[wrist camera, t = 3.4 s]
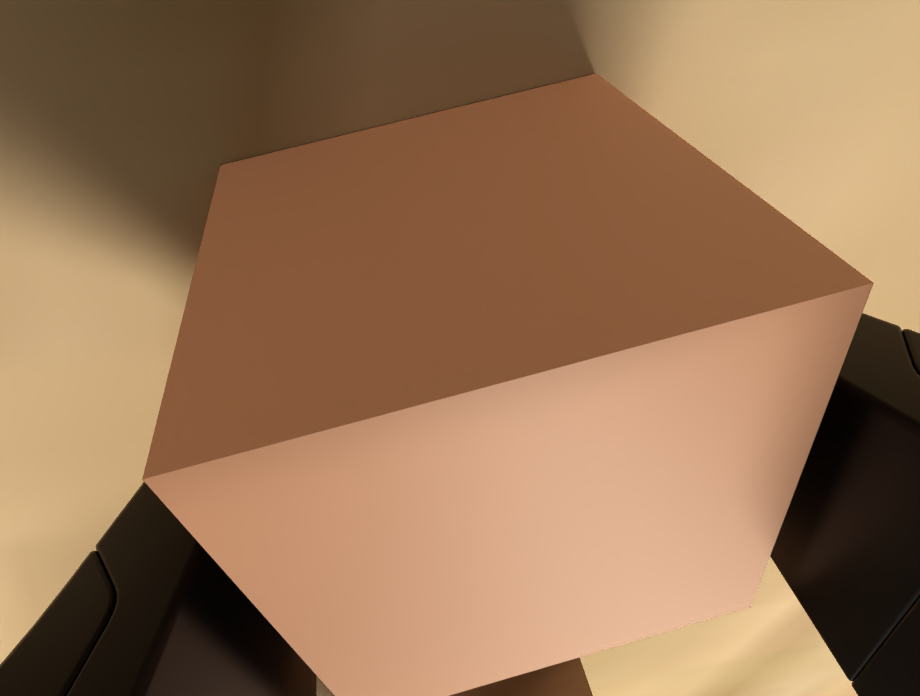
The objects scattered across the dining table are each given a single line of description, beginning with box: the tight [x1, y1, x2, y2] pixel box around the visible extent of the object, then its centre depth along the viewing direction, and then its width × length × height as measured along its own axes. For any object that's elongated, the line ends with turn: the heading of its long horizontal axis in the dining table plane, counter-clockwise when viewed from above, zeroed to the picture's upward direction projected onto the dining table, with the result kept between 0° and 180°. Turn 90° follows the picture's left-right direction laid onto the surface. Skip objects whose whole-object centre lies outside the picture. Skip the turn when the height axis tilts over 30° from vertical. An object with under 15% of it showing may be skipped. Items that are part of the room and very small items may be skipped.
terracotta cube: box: [142, 74, 873, 696], centre depth 7 cm, size 5×5×5 cm
